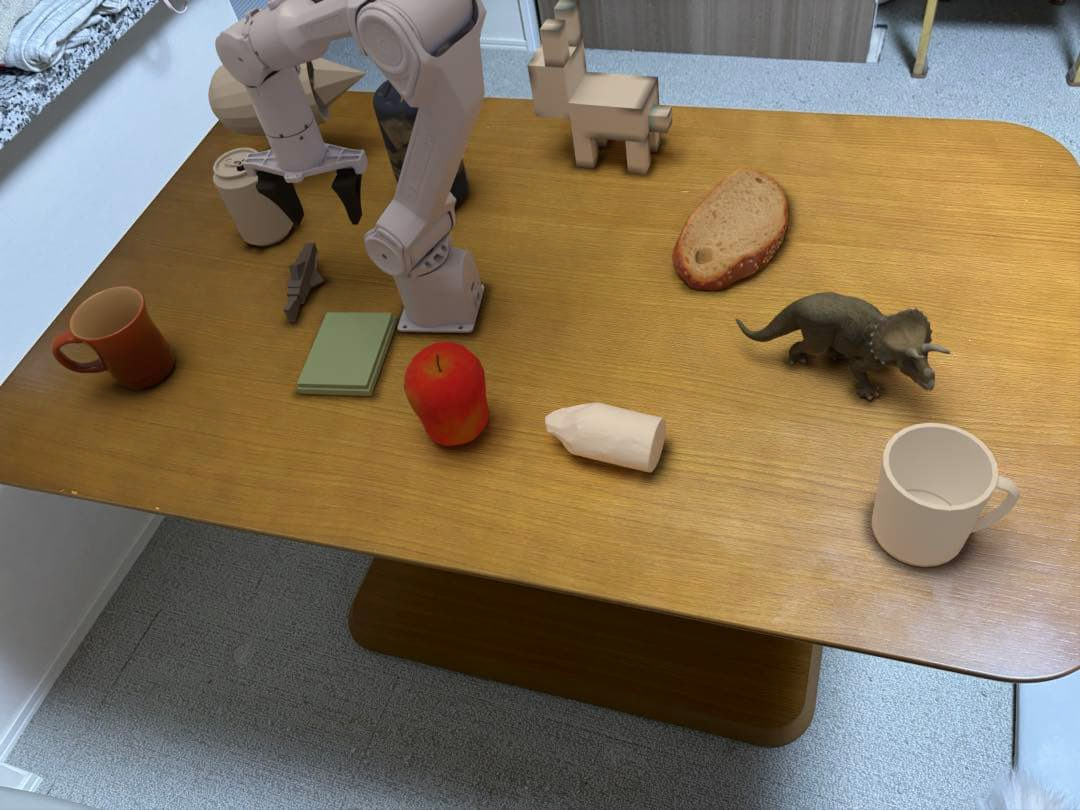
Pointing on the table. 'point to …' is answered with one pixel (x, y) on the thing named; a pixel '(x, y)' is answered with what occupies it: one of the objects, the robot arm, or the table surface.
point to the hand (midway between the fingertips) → (328, 219)
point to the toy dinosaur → (856, 337)
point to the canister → (405, 133)
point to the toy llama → (594, 95)
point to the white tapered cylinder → (609, 434)
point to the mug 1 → (118, 339)
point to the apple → (448, 392)
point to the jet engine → (316, 78)
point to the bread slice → (732, 231)
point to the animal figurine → (302, 279)
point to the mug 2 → (935, 493)
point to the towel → (347, 354)
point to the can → (248, 201)
